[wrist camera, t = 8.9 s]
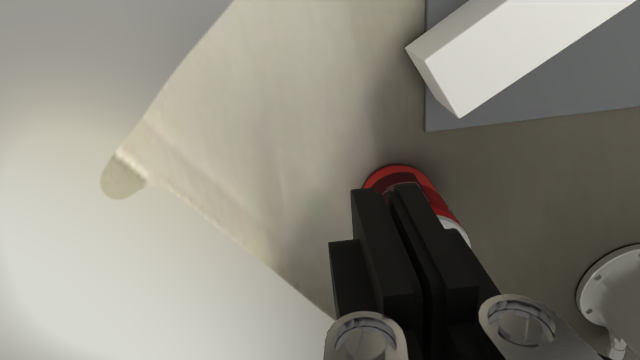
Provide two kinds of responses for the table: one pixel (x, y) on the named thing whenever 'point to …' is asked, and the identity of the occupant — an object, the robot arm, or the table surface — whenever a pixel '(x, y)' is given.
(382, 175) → the canned food
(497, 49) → the milk
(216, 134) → the table surface
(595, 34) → the mat
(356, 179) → the table surface
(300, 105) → the table surface
